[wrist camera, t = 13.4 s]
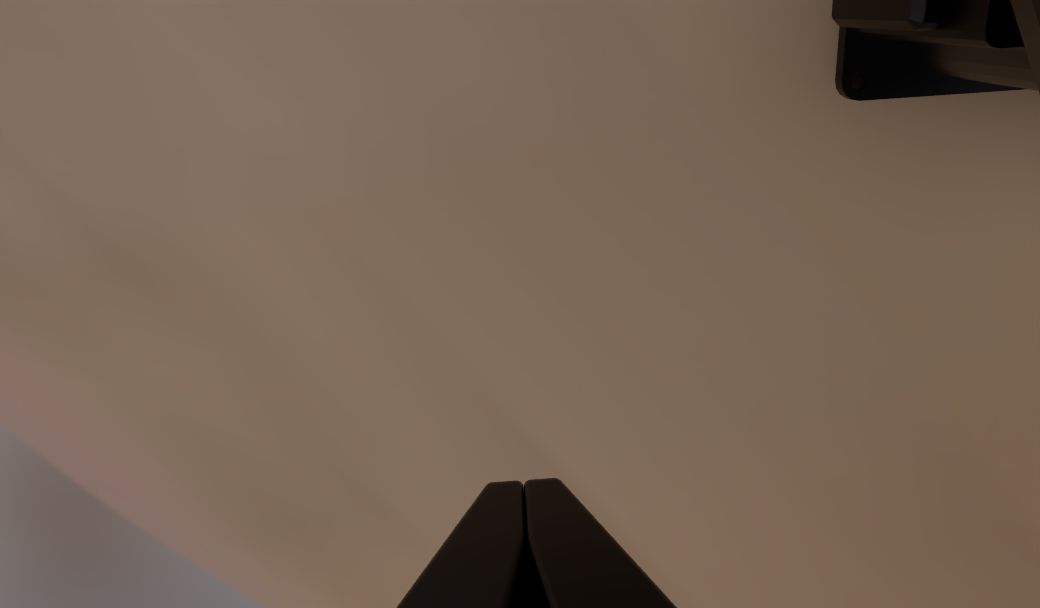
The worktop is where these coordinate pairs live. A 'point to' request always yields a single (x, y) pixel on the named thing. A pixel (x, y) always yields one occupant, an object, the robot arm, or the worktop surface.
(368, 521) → the worktop surface
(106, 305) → the worktop surface
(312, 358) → the worktop surface
